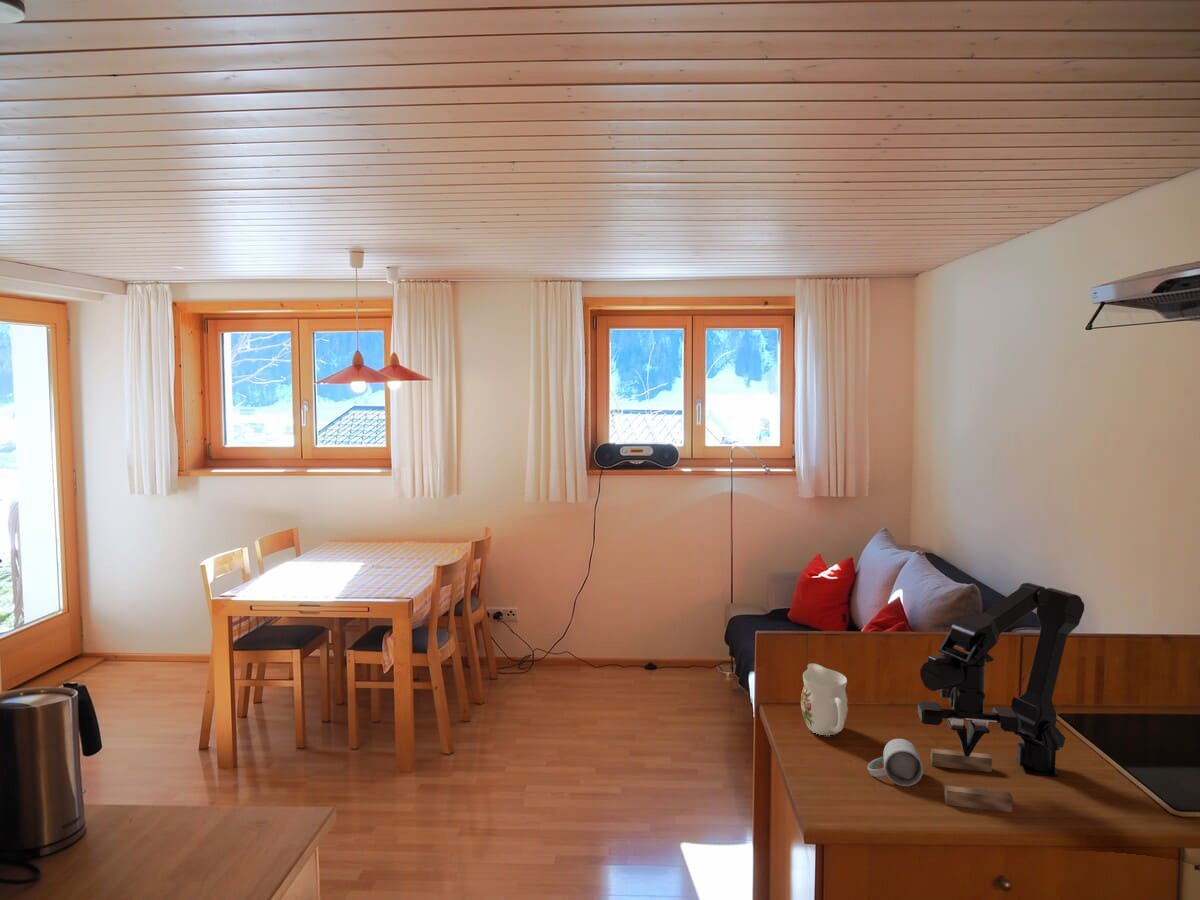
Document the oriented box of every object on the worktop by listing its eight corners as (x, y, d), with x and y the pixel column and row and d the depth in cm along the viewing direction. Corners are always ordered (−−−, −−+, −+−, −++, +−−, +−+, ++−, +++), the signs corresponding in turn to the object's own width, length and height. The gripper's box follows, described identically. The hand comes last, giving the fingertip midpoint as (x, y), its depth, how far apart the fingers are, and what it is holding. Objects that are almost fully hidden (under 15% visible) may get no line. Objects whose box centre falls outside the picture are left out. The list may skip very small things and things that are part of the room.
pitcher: (819, 751, 177) (820, 693, 176) (789, 717, 195) (790, 664, 194) (864, 747, 179) (865, 690, 178) (831, 714, 197) (832, 661, 195)
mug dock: (989, 767, 169) (989, 754, 169) (1012, 812, 152) (1012, 797, 152) (930, 761, 172) (930, 748, 172) (946, 804, 155) (946, 790, 154)
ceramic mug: (917, 769, 169) (917, 735, 168) (923, 788, 161) (923, 753, 160) (866, 764, 171) (866, 731, 171) (869, 783, 164) (869, 748, 163)
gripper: (1007, 672, 166) (1005, 742, 167) (914, 665, 170) (912, 733, 171) (1022, 693, 155) (1019, 767, 156) (923, 685, 159) (921, 757, 161)
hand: (966, 755), depth 161 cm, fingers closed
